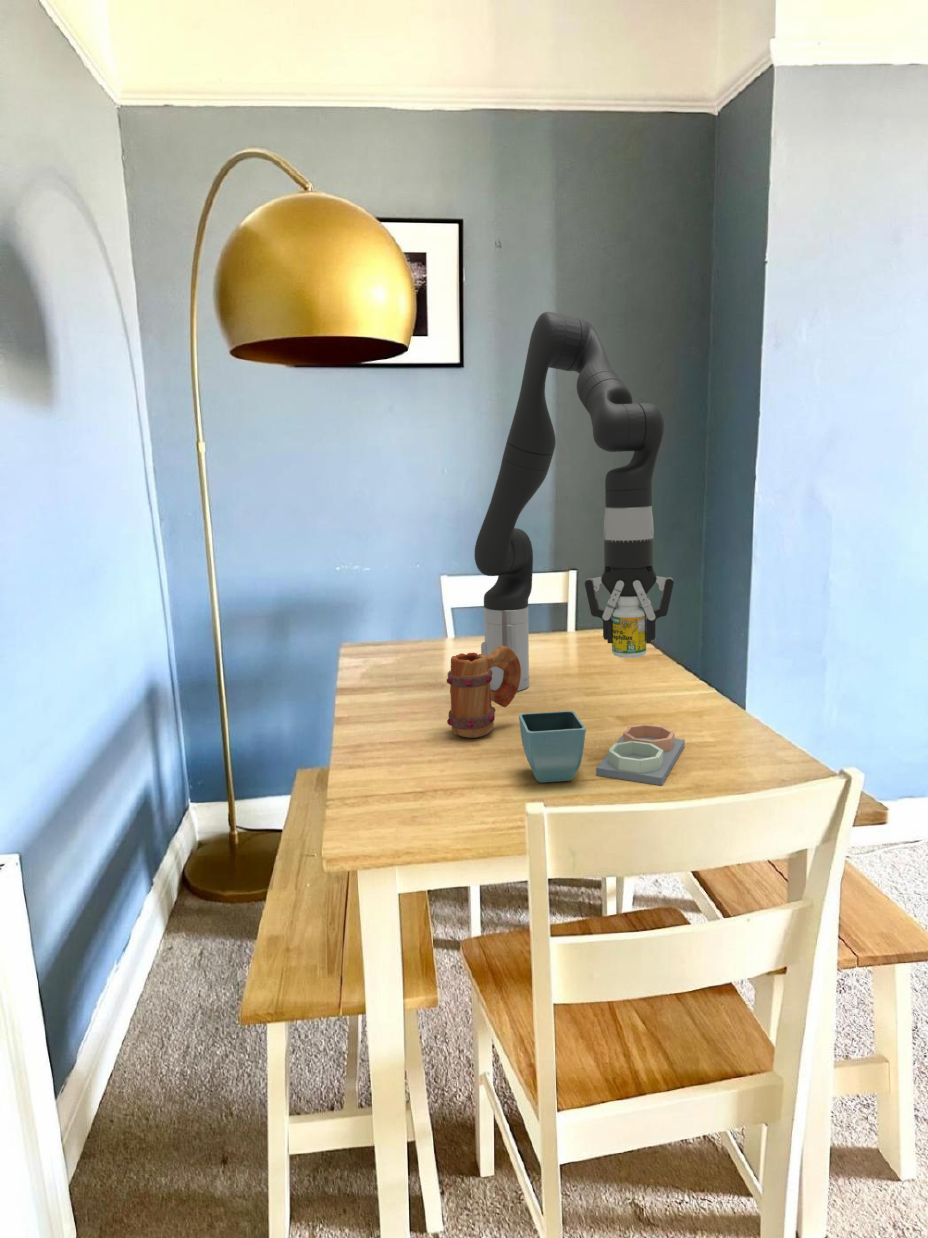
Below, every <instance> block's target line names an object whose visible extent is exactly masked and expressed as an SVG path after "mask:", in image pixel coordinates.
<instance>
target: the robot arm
mask: <svg viewBox="0 0 928 1238" xmlns="http://www.w3.org/2000/svg"><path fill="white" fill-rule="evenodd" d="M532 328H533V329H532V331H531V334H530V339H529V344H528V348H527V353H526V354H527V355H526V359H525V364H524V369H523V374H522V381H521V386H520V391H519V396H518V399H517V403H516V408H515V411H514V414H513V418H512V423H511V426H510V428H509V432H508V436H507V439H506V443H505V447H504V450H503V455H502V457H501V458H502V459H501V462H500V463H501V464H500V468H499V472H498V475H497V479H496V481H495V485H494V486H495V487H494V489H493V492H492V496H491V500H490V503H489V506H488V509H487V511H486V514H485V517H484V518H483V522H482V524H481V526H480V527H481V528H480V530H479V533H478V535H477V537H476V541H475V545H474V563H475V565H476V568H477V569H478V571H479V572H480V573H481V574H482V575H484V576H488V577H497V580H496V582H495V583H494V585H493V586H492V587H490V589H488V590H487V591H486V592H485V593H484V595H483V614H484V615H483V621H484V626H483V627H484V641H483V642H481V645H480V654H484V655H489V654H491V653H492V652H493V651H494V650H495V649H496V647H498V646H501V645H502V646H506V647H508V648H510V649H512V650H513V652H514V653H515V654H516V656H517V657H518V659H519V662H520V666H521V678H520V683H519V687H518V690H517V692H519V691H522V690H525V689H528V687H529V686H530V663H529V662H530V659H529V658H530V655H529V654H530V653H529V649H530V648H529V647H530V646H529V645H530V644H529V639H530V638H529V599H530V595H531V593H532V589H533V571H534V570H533V568H534V567H533V566H534V555H533V554H534V551H533V545H532V541H531V539H530V536H529V535H528V534H527V533H526V532H525V531H524V530H523V529H520V528H518V527H517V528H516V527H515V526H516V524H517V522H518V518H519V517H520V515H521V513H522V511H523V510H524V508H525V507H526V506H527V504H528V503H529V501H530V500H531V499H532V498H533V496H534V495H535V494H536V493H537V491H538V490H539V489H540V487H541V486H542V484H543V483H544V481H545V479H546V478H547V475H548V472H549V468H551V467H550V466H551V463H552V459H553V456H554V453H555V449H556V441H557V440H556V434H555V430H554V429H555V428H554V424H553V423H552V419H551V416H550V412H549V408H548V404H547V400H546V381H547V374H548V370H549V368H551V369H555V370H561V371H565V372H576V373H577V374H578V377H577V380H576V393H577V395H578V398H579V400H580V402H581V403H582V405H583V406H584V409H586V411H587V412H588V414H589V416H590V420H591V427H592V435H593V441H594V443H595V444H596V446H598V448H600V449H601V450H603V451H605V452H610V453H616V452H617V453H618V452H634V453H633V455H632V458H631V459H630V461H629V463H628V464H626V465H623V466H620V467H616V468H612V469H611V470H609V471H608V472H607V473H606V475H605V480H604V481H605V482H604V484H605V485H604V489H605V492H604V493H605V495H604V497H605V498H604V499H605V501H604V502H605V505H604V507H605V510H604V511H605V512H604V518H603V519H604V521H603V531H602V532H603V533H602V534H603V543H604V544H603V548H604V549H603V551H604V552H603V554H604V557H603V558H604V560H603V561H604V562H603V565H604V568H603V573H602V575H601V576H598V577H593V578H591V577H589V578H587V579H586V580H585V581H584V587H585V593H586V595H587V601H588V604H589V605H588V606H589V610H590V611H589V612H590V615H591V616H592V617H595V618H600V619H601V620H602V634H603V635H602V638H603V640H605V641H607V644H612V612H613V610H614V608H616V605H617V604H616V603H617V600H618V598H619V596H638V597H639V600H640V602H641V604H640V605H641V607H642V608H643V609H644V611H645V613H646V644H652V641H654V640H655V638H656V621H657V619H659V618H662V617H666V616H667V614H668V611H669V607H670V602H671V597H672V592H673V587H674V579H673V577H672V576H667V577H665V576H658V575H657V574H656V571H655V569H654V534H655V530H654V516H653V507H652V505H653V501H652V500H653V495H652V493H653V491H652V490H653V489H652V488H653V487H652V486H653V483H652V482H653V475H654V471H655V467H656V462H657V459H658V455H659V451H660V448H661V444H662V441H663V436H664V433H665V432H664V431H665V420H664V417H663V414H662V412H661V410H660V409H659V407H658V406H656V405H655V404H653V403H648V402H647V403H645V402H644V403H642V402H641V403H640V402H639V403H633V397H632V393H631V391H630V390H629V388H628V387H627V386H626V384H625V383H624V381H623V380H622V379H621V378H620V377H619V376H618V374H617V373H616V372H615V370H614V369H613V367H612V366H611V364H610V362H609V359H608V357H607V354H606V352H605V349H604V346H603V344H602V342H601V339H600V337H599V335H598V332H597V331H596V329H595V327H594V326H593V325H592V324H591V322H589V321H587V320H586V319H584V318H579V317H575V316H570V315H566V314H562V313H558V312H552V311H544V312H541V314H540V315H539V316H538V318H537V319H536V321H535V324H534V326H533V327H532ZM601 584H602V585H603V586H604V587H605V589H606V590H607V591H608V592H609V594H610V596H609V599H608V601H607V603H606V606H605V608H604V609H603V608H600V607H599V606H600V605H599V601H598V596H597V592H598V591H599V590H600V585H601ZM655 584H658V589H659V591H660V592H662V594H661V599H660V605H659V607H657V608H655V609H654V607H653V605H652V602H651V600H650V598H649V595H648V593H649V592H650V590H652V588H653V587H654V585H655ZM491 671H492V681H491V682H490V690H491V691H495V690H497V689H498V688H499V687H500V685H501V683H502V681H503V674H504V671H503V670H502V669H500V668H498V667H496V666H495V667H491Z"/></svg>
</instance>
